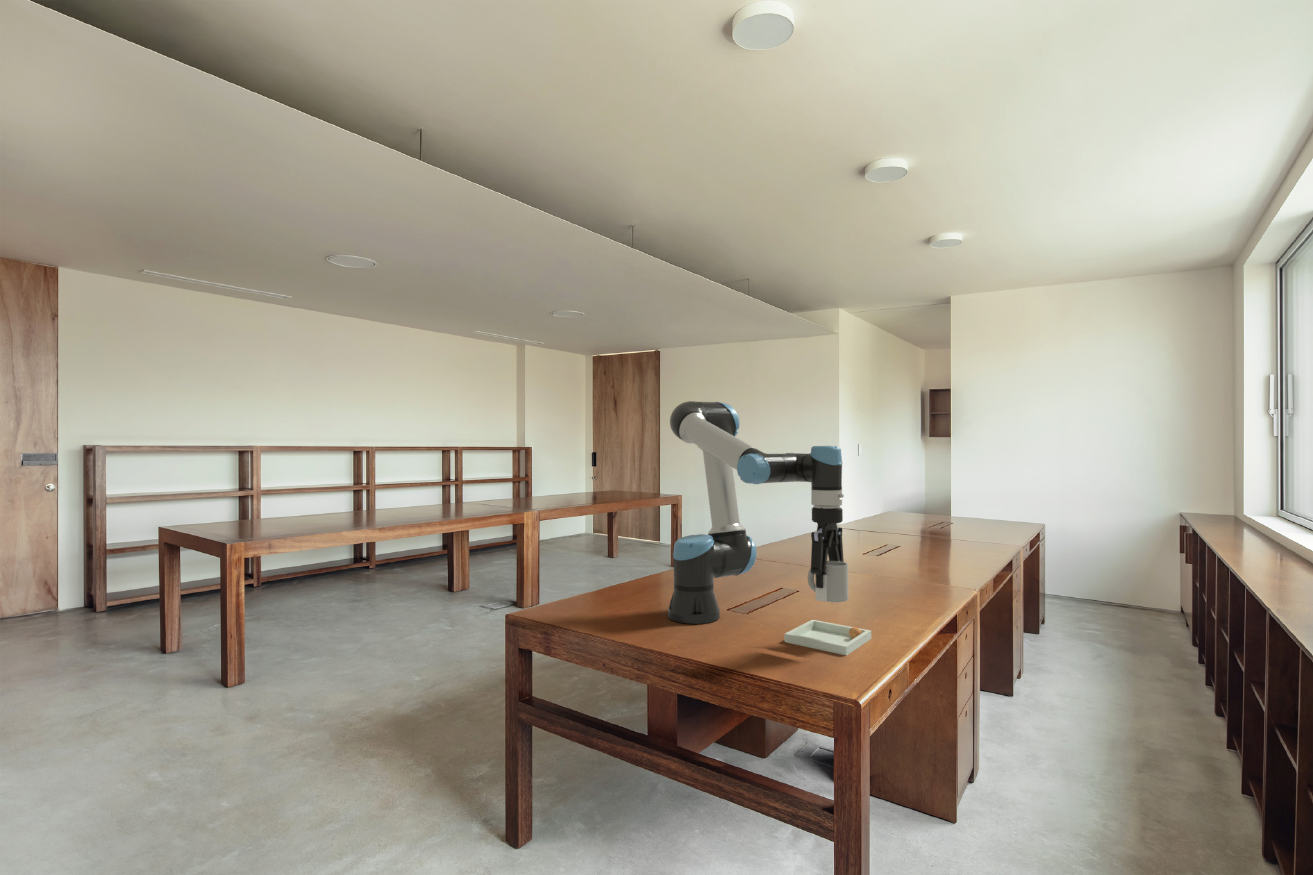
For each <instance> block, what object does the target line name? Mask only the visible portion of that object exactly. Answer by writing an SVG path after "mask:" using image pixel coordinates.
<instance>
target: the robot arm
mask: <svg viewBox="0 0 1313 875" xmlns="http://www.w3.org/2000/svg"><path fill="white" fill-rule="evenodd" d="M669 426H670V429H671V432H672V433H673V434H674V435H675V436H676V437H677V439H679V440H681V441H682V442H684V443H686V444H694V445H695V446H697V448H699V449H700V450H701V451H702V455H703V464H704V471H705V479H706V488H707V496H708V504H709V511H710V519H711V521H710V522H711V528H710V530H709V531H708V533H707V534H706V533H705V534H704V533H703V534H702V533H701V534H699V533H698V534H690V535H686V536H683V537H682V536H681V537H680V538H677V540H676V541H675V542H674V545H673V553H672V557H673V591H672V592H673V593H672V595H671V598H670V601H669V605H668V608H667V618H668V619H670V620H671V621H673V622H677V623H682V624H690V625H694V624H695V625H698V624H699V625H700V624H708V623H713V622H716V621H718V620H719V619H720V617H721V616H720V615H721V614H720V612H721V611H720V607H719V604H718V601H717V597H716V594H715V590H714V589H715V588H714V579H717V578H723V577H724V578H725V577H732V576H739V575H742V574H746V573H747V572H749V571H751V569H752V568H753V566H754V565H755V564H756V560H757V554H758V553H757V546H756V543H755V541H753V538H752V537H751V536H749V535H747V530H746V528H745V527H744V526H743V525H741V522H740V517H739V516H740V514H739V507H738V506H739V505H738V499H737V492H736V485H735V476H734V475H735V474H734V470H736V472H737V475H738V477H739V478H740V480H741V481H742V482H743V483H745V484H750V485H751V484H752V485H761V484H772V483H773V484H774V483H794V482H795V483H797V482H798V483H801V482H802V483H804V482H805V483H811V484H810V486H811V488H810V489H811V490H810V491H811V492H810V496H811V500H810V501H811V503H810V504H811V505H812V506H813V507H811V521H812V522H813V523H815V524H817V526H816V531H814V532H813V531H812V532H810V533H811V534H810V535H811V554H810V555H811V557H810V569H811V573H812V574H815V575H814V583H815V586H816V592H815V601H819V602H826V603H827V575H825V570H826V563H827V561H840V562H844V560H845V559H844V546H843V545H844V544H843V527H839V526H838V524H841V523H842V522H843V518H844V517H843V516H844V515H843V513H844V512H843V508H842V507H841V506H842V505H843V498H844V494H843V484H842V483H843V479H842V478H843V459H842V458H843V457H842V449H841V447H840V446H838V445H812V447H811V448H810V453H800V452H799V453H794V452H786V453H765V452H763V451H761V450H759V449H758V448H755V447H754V446H752V445H750V444H748V443H747V442H745V441H743V440H741V439H740V438H738V437H737V435H738V434H739V429H740V418H739V414H738V413H737V411H736V409H735V408H734V407H733V406H732V405H730V404H728V403H723V402H719V401H690V400H689V401H685V402H682V403H680V404H678V405H677V406H676V407H675V408H674V409H673V410H672V412H671V414H670V418H669ZM733 469H734V470H733Z"/></svg>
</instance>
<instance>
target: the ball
mask: <svg viewBox="0 0 1313 875" xmlns="http://www.w3.org/2000/svg"><path fill="white" fill-rule="evenodd" d="M851 627H852V628H851V629H850V630H849V635H850V637H851V638H852V639H854V638H855V637H857V636H859V635H860V634H861V630H860V629H861V628H860V627H857V626H851ZM859 628H860V629H859Z"/></svg>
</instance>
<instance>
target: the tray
mask: <svg viewBox="0 0 1313 875" xmlns="http://www.w3.org/2000/svg"><path fill="white" fill-rule="evenodd" d="M852 627H853V626H849V625H843V624H839V623H832V622H826V621H822V620H817V619H811V620H809V621H807V622H805V623H802V624H800V625H799V626H797V627H795V628H793V629H791V630H789V631H787V632H785V633H784V637H783V638H784V642H785V643H786V644H792V645H796V646H801V647H805V648H809V649H814V650H819V651H825V652H829V653H833V654H837V655H840V656H841V655H842V656H849V655H850V654H851V653H852V652H854V651H855V650H857V649H858V648H860V647H861V646H863V645H864V644H866V643H867V642H869V641H870V640H872V630H870V629H865V628H860V627H858V628H859V629H860V630H861V634H860V635H859V636H857V637H855V638H854V639H852V638H851V637H850V635H849V630H850V629H851V628H852Z"/></svg>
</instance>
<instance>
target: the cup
mask: <svg viewBox="0 0 1313 875" xmlns="http://www.w3.org/2000/svg"><path fill="white" fill-rule="evenodd" d="M825 575H827V602H828V603H844V602H847V601H848V600H849V563H847V562H840V561H829V560H827V563H826V570H825ZM807 583H808V586H809V588H810V589H811V590H812V592H815V593H816V586H815V574H812V573H811V568H809V571H808V573H807ZM827 602H826V603H827Z"/></svg>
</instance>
